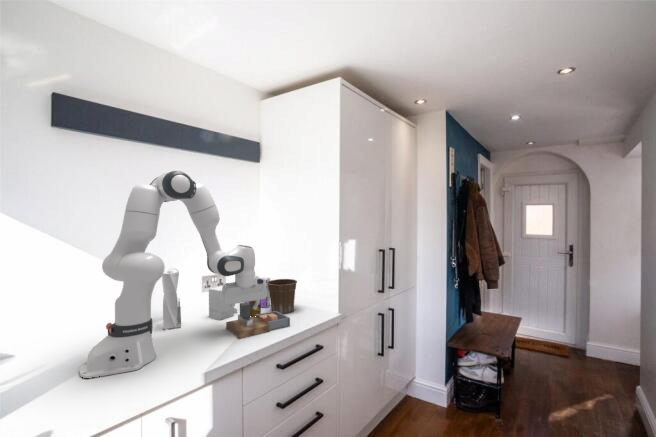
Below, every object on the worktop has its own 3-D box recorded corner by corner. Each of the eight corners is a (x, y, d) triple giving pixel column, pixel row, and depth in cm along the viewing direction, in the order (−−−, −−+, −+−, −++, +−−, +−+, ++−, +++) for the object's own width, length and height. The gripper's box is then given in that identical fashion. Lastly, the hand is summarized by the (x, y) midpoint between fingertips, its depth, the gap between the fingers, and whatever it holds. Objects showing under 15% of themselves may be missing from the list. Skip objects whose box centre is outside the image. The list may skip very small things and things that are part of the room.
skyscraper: (180, 329, 148) (180, 268, 148) (160, 331, 144) (160, 269, 144) (181, 323, 155) (181, 265, 155) (162, 325, 152) (162, 266, 152)
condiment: (263, 316, 167) (263, 293, 167) (247, 318, 162) (247, 295, 162) (258, 312, 173) (258, 290, 173) (243, 315, 168) (242, 292, 168)
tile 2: (271, 317, 147) (277, 315, 149) (266, 314, 151) (272, 313, 153) (271, 328, 147) (277, 326, 149) (267, 325, 151) (272, 323, 153)
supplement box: (234, 315, 167) (234, 287, 167) (220, 320, 160) (220, 290, 160) (222, 313, 172) (222, 285, 172) (208, 317, 164) (208, 288, 164)
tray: (268, 331, 144) (268, 322, 144) (255, 323, 156) (255, 314, 156) (289, 326, 151) (289, 317, 151) (275, 318, 162) (275, 310, 162)
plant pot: (267, 316, 166) (267, 285, 166) (266, 308, 182) (266, 279, 182) (299, 314, 170) (299, 283, 170) (295, 306, 185) (295, 278, 185)
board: (239, 338, 135) (239, 331, 135) (226, 328, 148) (226, 321, 148) (269, 331, 144) (269, 325, 144) (254, 322, 157) (254, 316, 157)
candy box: (243, 307, 183) (243, 278, 183) (248, 304, 189) (248, 276, 189) (266, 308, 181) (266, 279, 181) (270, 305, 187) (270, 277, 187)
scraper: (246, 327, 140) (246, 307, 140) (237, 321, 149) (237, 301, 149) (253, 326, 142) (253, 306, 142) (243, 320, 151) (243, 300, 151)
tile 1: (263, 324, 151) (263, 318, 151) (258, 321, 155) (258, 315, 155) (273, 322, 154) (272, 316, 154) (268, 319, 158) (268, 313, 158)
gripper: (224, 285, 137) (224, 317, 137) (268, 279, 149) (268, 309, 149) (219, 282, 142) (219, 313, 142) (262, 277, 154) (262, 306, 154)
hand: (245, 311), depth 145 cm, fingers open, 8 cm apart
